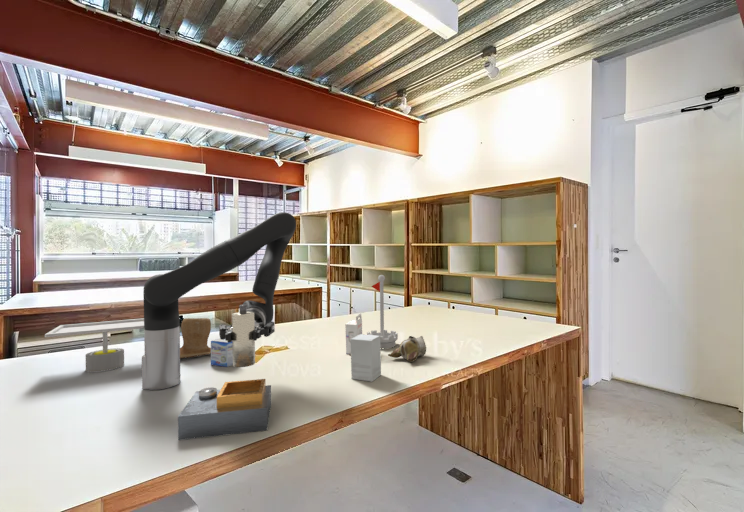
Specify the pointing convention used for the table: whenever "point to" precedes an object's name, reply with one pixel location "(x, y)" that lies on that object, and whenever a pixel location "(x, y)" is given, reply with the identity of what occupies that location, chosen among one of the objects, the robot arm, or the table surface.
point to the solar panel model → (105, 357)
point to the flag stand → (385, 338)
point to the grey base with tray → (226, 410)
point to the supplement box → (365, 357)
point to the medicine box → (221, 353)
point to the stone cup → (195, 337)
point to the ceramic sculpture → (410, 349)
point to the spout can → (243, 338)
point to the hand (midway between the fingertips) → (242, 337)
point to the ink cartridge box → (352, 331)
